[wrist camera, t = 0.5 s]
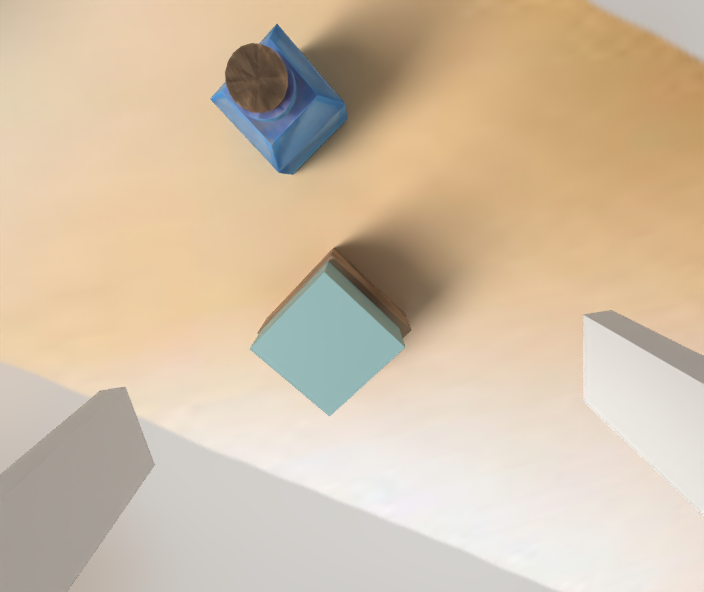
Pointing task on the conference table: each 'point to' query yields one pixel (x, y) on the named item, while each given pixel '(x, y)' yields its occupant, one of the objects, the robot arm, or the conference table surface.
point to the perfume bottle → (279, 101)
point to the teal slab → (328, 340)
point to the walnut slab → (357, 281)
